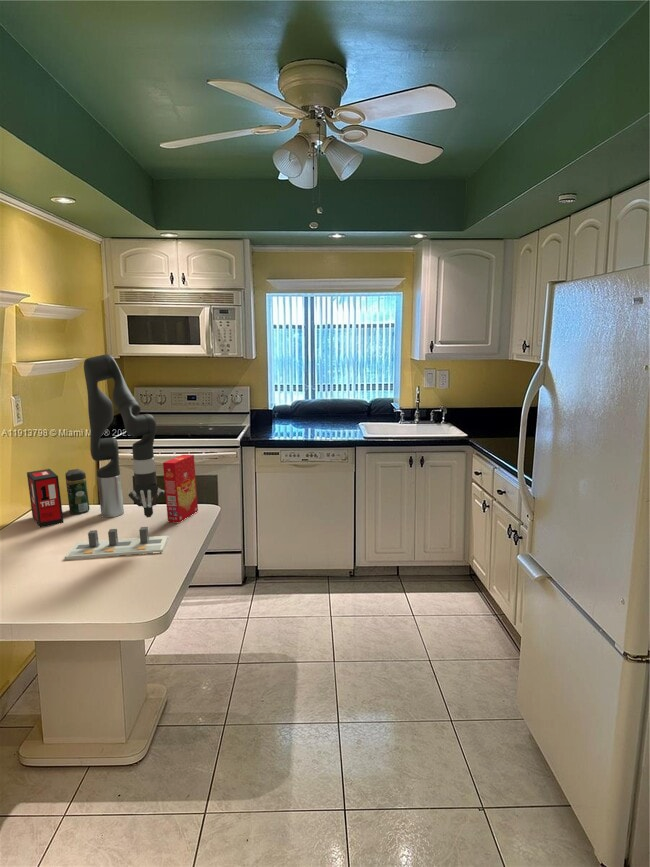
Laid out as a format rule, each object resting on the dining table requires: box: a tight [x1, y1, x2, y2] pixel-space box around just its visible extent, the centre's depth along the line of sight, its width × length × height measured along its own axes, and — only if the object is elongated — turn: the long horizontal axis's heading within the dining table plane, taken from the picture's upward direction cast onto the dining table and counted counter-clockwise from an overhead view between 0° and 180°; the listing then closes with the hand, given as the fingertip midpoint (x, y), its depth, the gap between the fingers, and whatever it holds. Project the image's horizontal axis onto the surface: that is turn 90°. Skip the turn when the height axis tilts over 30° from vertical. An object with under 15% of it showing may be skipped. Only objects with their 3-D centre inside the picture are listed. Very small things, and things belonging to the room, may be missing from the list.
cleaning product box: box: [26, 468, 64, 528], centre depth 238 cm, size 16×9×20 cm, turn 36°
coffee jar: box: [65, 468, 90, 515], centre depth 249 cm, size 10×8×19 cm
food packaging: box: [162, 454, 199, 523], centre depth 236 cm, size 15×5×25 cm, turn 162°
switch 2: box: [138, 526, 150, 543], centre depth 207 cm, size 3×2×5 cm
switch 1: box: [87, 529, 99, 547], centre depth 205 cm, size 3×2×5 cm
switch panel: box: [64, 535, 169, 561], centre depth 205 cm, size 14×33×2 cm, turn 97°
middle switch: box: [107, 528, 119, 545], centre depth 206 cm, size 3×2×5 cm
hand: (148, 516), depth 206 cm, fingers closed
